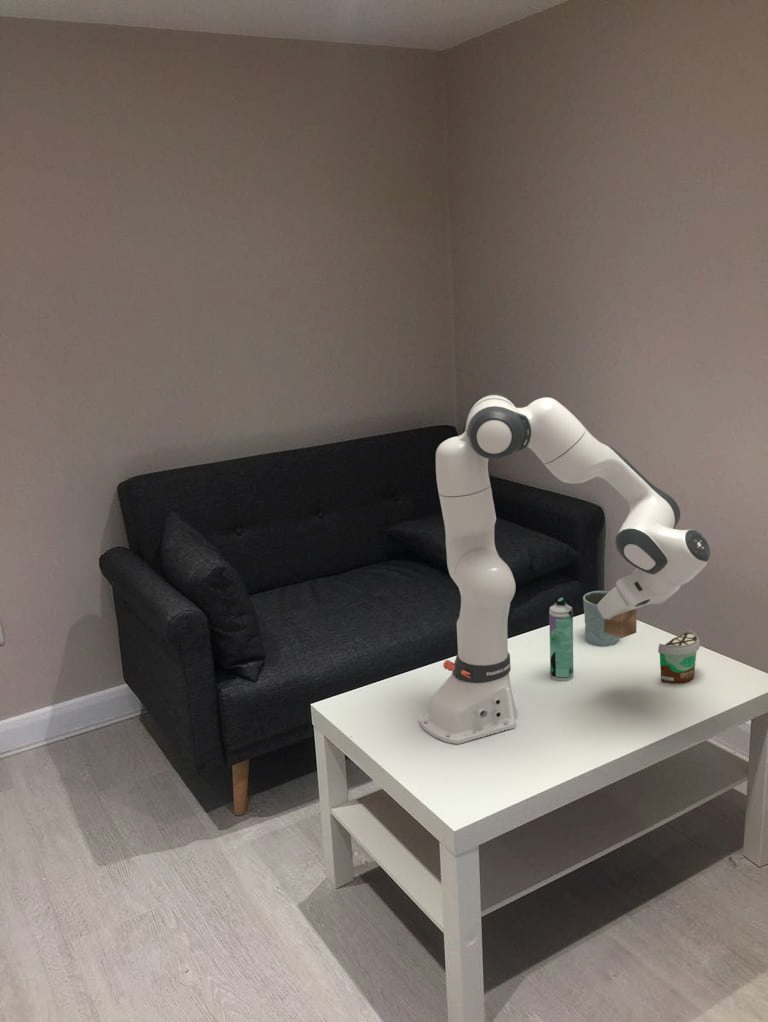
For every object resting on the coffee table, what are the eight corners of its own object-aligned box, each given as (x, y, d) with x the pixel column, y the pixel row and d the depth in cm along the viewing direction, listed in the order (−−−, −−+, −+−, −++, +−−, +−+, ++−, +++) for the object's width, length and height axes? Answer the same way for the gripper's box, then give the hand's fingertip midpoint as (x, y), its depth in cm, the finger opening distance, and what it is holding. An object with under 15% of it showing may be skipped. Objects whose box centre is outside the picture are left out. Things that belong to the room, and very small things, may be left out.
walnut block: (621, 638, 205) (621, 605, 203) (604, 631, 209) (604, 599, 207) (636, 632, 208) (636, 599, 206) (619, 626, 212) (619, 593, 210)
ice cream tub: (680, 691, 211) (681, 651, 208) (657, 683, 215) (658, 644, 213) (709, 673, 218) (710, 634, 216) (686, 666, 223) (687, 628, 220)
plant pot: (592, 630, 248) (592, 588, 245) (628, 636, 242) (628, 594, 239) (577, 643, 240) (576, 600, 237) (614, 651, 234) (614, 607, 231)
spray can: (573, 671, 224) (572, 594, 219) (573, 681, 219) (572, 603, 214) (550, 670, 225) (549, 594, 220) (550, 680, 220) (548, 603, 215)
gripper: (677, 559, 204) (641, 589, 214) (613, 581, 193) (579, 611, 204) (693, 583, 202) (656, 613, 212) (629, 606, 191) (594, 636, 201)
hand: (618, 612), depth 208 cm, fingers closed on walnut block, 5 cm apart
